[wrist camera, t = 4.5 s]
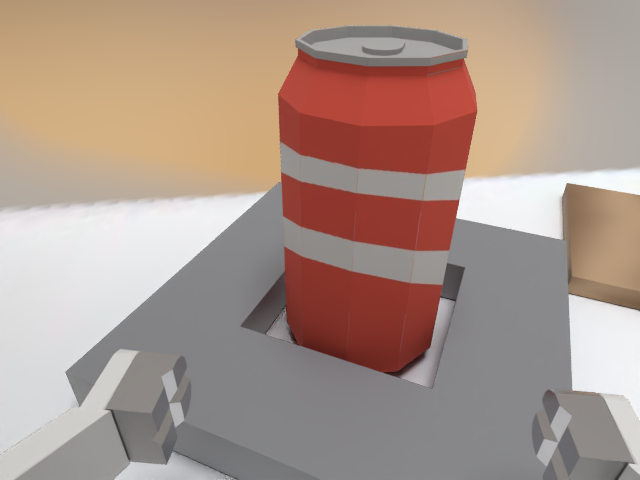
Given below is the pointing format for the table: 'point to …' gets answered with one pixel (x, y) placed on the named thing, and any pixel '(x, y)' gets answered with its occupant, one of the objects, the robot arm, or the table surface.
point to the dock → (351, 379)
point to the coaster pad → (602, 244)
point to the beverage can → (372, 186)
